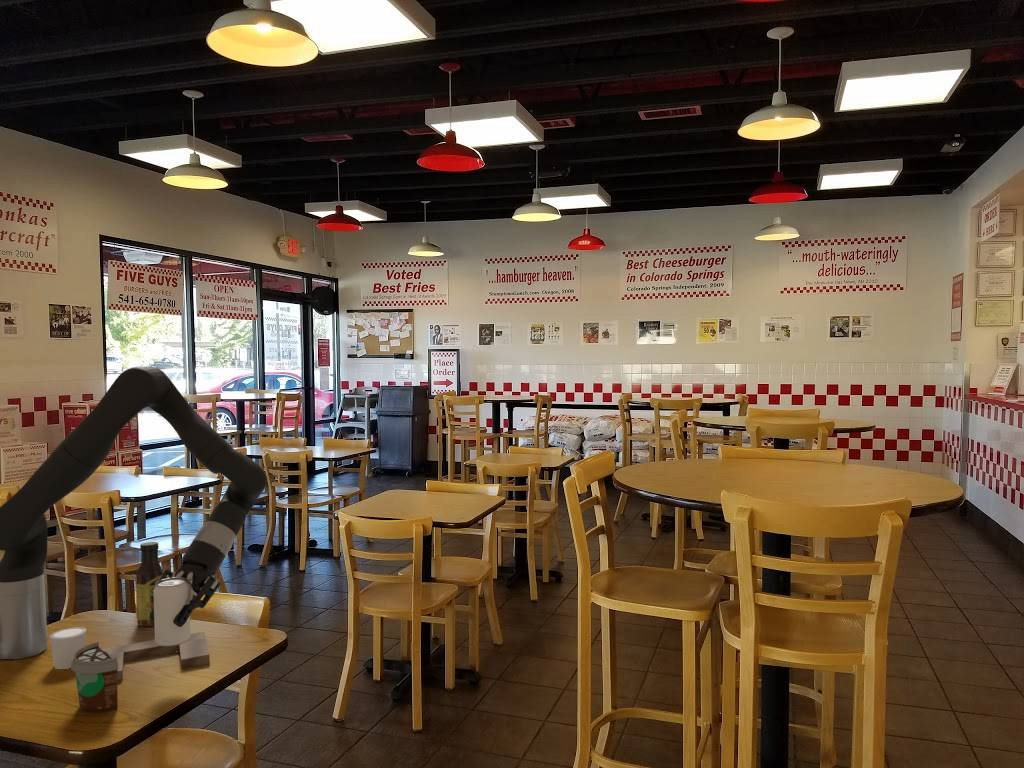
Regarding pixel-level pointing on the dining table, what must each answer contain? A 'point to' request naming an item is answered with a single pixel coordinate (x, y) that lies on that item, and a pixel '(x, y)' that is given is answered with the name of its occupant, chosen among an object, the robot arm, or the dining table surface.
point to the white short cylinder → (66, 645)
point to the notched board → (163, 652)
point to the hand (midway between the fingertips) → (165, 622)
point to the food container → (95, 679)
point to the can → (170, 611)
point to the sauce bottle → (147, 582)
